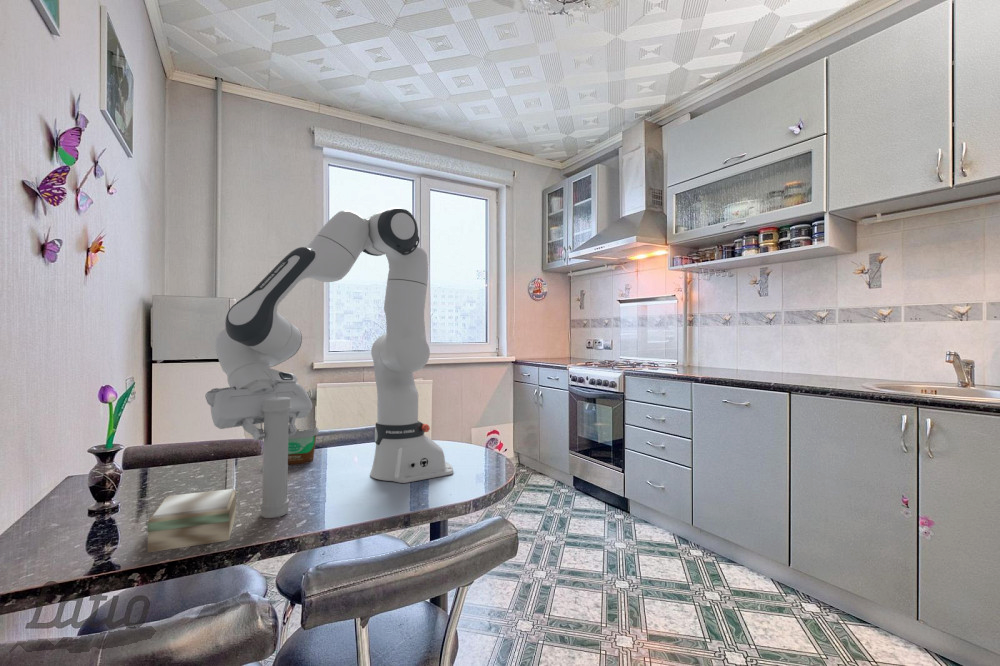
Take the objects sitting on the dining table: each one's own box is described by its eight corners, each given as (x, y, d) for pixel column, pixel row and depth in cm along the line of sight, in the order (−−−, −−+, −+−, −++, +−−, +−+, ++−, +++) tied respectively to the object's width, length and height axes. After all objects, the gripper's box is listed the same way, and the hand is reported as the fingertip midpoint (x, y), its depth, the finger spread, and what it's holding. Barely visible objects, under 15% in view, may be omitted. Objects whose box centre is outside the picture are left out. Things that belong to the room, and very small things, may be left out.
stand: (235, 517, 94) (236, 487, 94) (228, 541, 83) (229, 507, 83) (164, 526, 89) (165, 495, 89) (146, 553, 78) (147, 517, 78)
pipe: (277, 520, 92) (280, 372, 93) (250, 517, 94) (253, 371, 94) (294, 510, 98) (297, 370, 98) (269, 507, 99) (272, 369, 100)
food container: (272, 468, 130) (273, 432, 130) (273, 462, 135) (274, 429, 136) (319, 463, 135) (319, 430, 135) (318, 458, 140) (319, 426, 141)
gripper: (207, 379, 92) (229, 434, 86) (302, 374, 109) (326, 419, 103) (197, 399, 94) (218, 454, 89) (291, 391, 111) (314, 437, 105)
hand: (277, 435), depth 96 cm, fingers closed on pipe, 5 cm apart
